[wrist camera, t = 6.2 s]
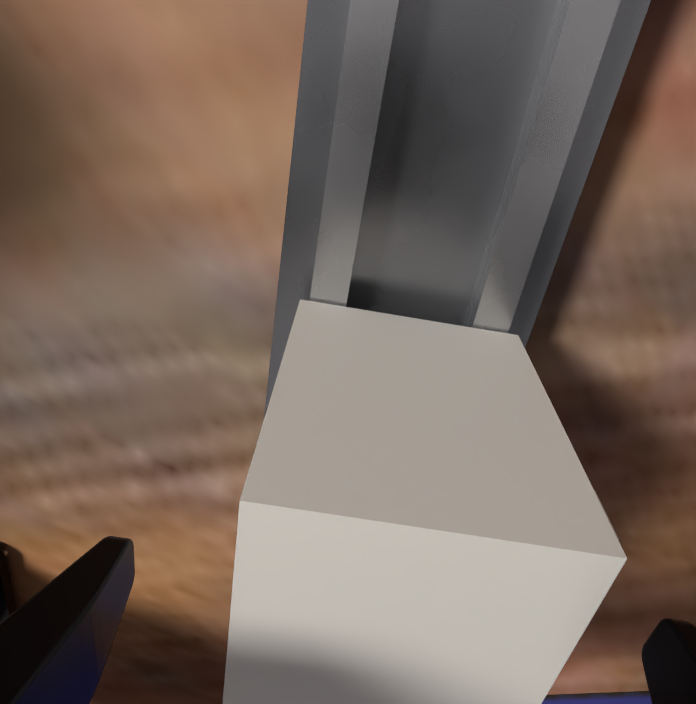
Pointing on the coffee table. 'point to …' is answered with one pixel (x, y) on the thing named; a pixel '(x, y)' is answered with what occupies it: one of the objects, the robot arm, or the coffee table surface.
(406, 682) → the carriage
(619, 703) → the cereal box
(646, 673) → the robot arm
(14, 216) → the coffee table surface
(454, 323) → the rail
